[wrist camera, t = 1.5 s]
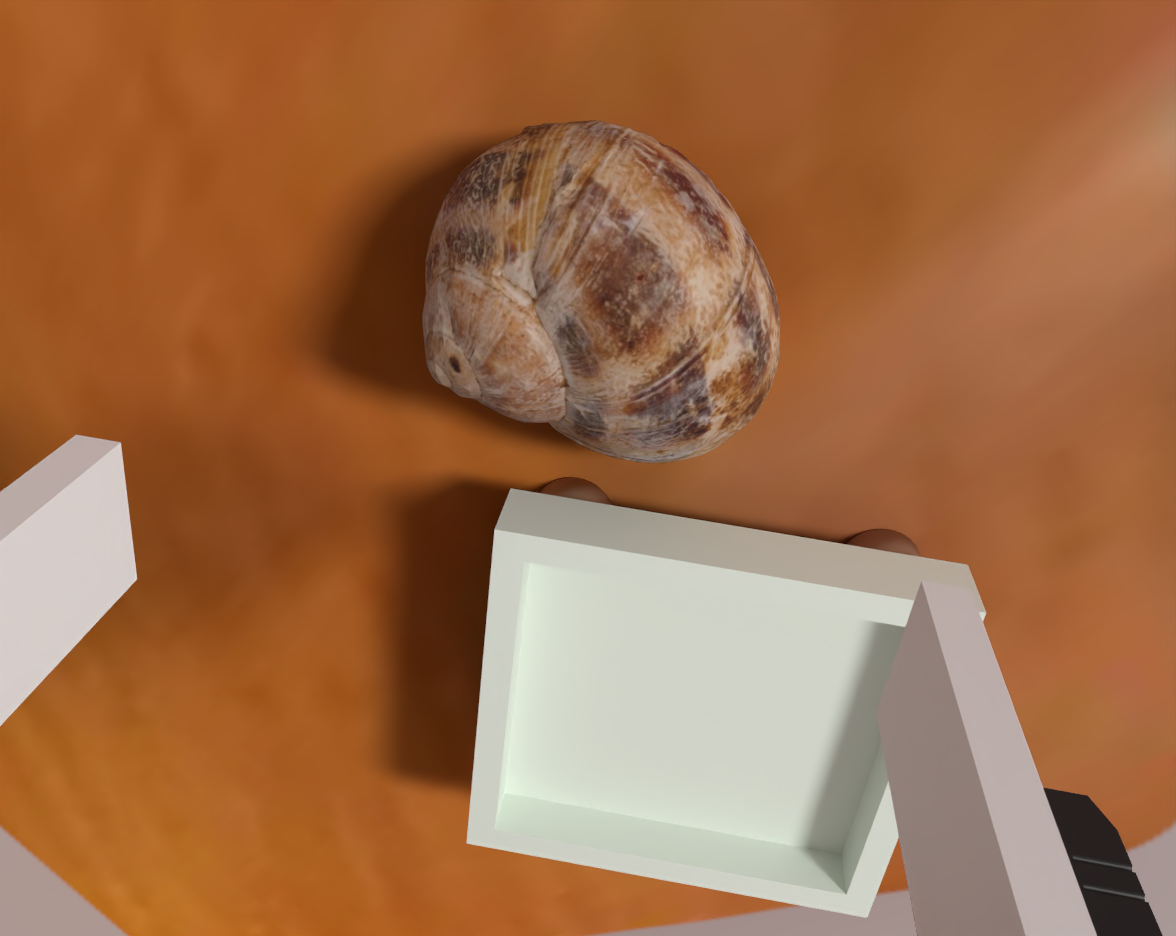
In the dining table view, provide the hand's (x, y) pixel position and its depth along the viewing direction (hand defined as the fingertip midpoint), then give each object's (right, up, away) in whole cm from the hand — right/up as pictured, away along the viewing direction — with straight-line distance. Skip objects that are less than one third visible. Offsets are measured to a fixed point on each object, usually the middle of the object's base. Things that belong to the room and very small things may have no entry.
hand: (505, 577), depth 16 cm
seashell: (+2, +8, +16) cm, 18 cm away
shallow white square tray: (+6, -5, +22) cm, 23 cm away
